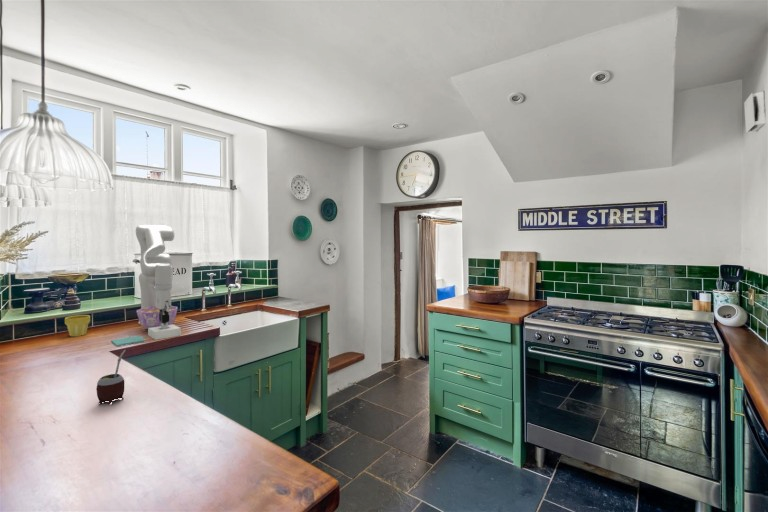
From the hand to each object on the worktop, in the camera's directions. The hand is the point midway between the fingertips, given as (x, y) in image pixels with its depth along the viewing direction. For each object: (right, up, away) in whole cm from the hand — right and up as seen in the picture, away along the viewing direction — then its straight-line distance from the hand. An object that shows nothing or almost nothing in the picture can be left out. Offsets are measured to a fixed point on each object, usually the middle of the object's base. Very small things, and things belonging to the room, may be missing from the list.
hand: (164, 320), depth 192 cm
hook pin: (0, -8, 0) cm, 8 cm away
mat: (-11, -8, -12) cm, 18 cm away
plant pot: (-46, -8, 0) cm, 47 cm away
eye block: (0, -8, 0) cm, 8 cm away
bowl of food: (-12, -7, +14) cm, 20 cm away
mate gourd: (+31, -12, -77) cm, 84 cm away
